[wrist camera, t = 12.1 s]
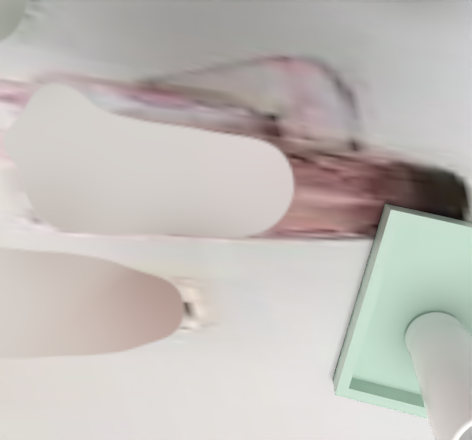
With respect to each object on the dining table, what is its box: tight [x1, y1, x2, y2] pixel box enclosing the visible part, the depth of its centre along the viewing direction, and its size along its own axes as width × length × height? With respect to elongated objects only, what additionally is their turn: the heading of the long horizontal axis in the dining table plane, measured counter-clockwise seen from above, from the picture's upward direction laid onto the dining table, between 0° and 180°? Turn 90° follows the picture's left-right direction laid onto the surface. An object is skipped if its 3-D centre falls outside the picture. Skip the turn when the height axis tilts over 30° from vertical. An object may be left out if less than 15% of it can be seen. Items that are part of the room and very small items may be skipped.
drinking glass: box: [405, 312, 472, 440], centre depth 33 cm, size 7×7×15 cm
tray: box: [333, 204, 472, 418], centre depth 39 cm, size 18×15×2 cm
